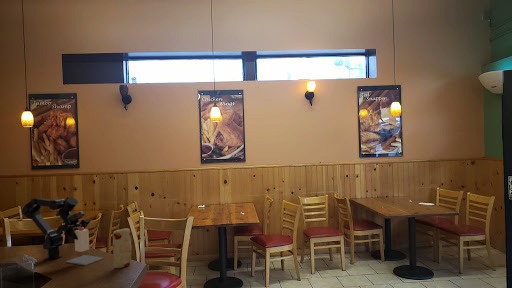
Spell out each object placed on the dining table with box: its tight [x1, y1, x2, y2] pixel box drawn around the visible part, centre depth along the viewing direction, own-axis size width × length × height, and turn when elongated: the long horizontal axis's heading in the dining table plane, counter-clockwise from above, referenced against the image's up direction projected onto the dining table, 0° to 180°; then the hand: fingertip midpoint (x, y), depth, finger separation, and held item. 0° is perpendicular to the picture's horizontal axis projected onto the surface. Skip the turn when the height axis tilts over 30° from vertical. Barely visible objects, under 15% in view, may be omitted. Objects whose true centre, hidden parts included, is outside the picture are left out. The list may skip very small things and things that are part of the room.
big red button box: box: [73, 227, 90, 253], centre depth 205 cm, size 5×5×12 cm
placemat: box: [65, 254, 105, 267], centre depth 208 cm, size 16×12×1 cm
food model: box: [112, 228, 132, 269], centre depth 195 cm, size 10×7×20 cm
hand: (81, 238), depth 205 cm, fingers closed on big red button box, 5 cm apart
